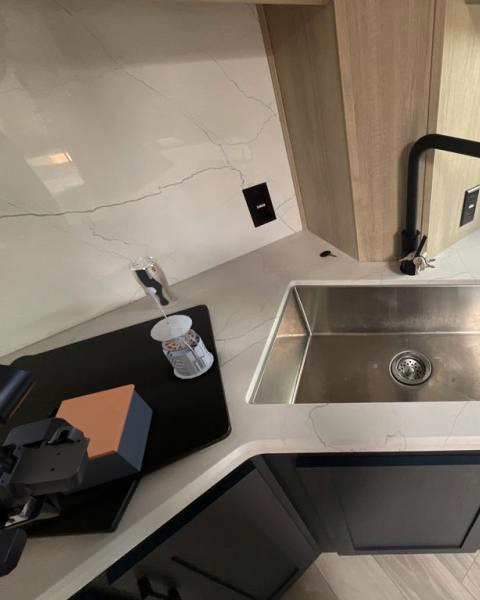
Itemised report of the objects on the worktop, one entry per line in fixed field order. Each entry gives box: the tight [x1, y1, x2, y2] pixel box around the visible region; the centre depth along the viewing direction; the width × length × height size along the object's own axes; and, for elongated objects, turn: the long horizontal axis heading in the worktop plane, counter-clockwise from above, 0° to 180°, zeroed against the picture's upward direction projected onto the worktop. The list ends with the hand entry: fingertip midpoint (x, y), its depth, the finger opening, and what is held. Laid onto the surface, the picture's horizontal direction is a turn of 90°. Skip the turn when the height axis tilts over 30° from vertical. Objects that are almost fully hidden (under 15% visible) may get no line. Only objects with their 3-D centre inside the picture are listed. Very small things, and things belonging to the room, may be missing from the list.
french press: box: [144, 287, 214, 380], centre depth 73 cm, size 10×12×25 cm
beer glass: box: [127, 256, 178, 310], centre depth 93 cm, size 7×7×15 cm
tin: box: [59, 389, 154, 496], centre depth 62 cm, size 14×12×9 cm
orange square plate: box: [55, 383, 135, 460], centre depth 59 cm, size 14×12×1 cm
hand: (56, 513), depth 46 cm, fingers closed
